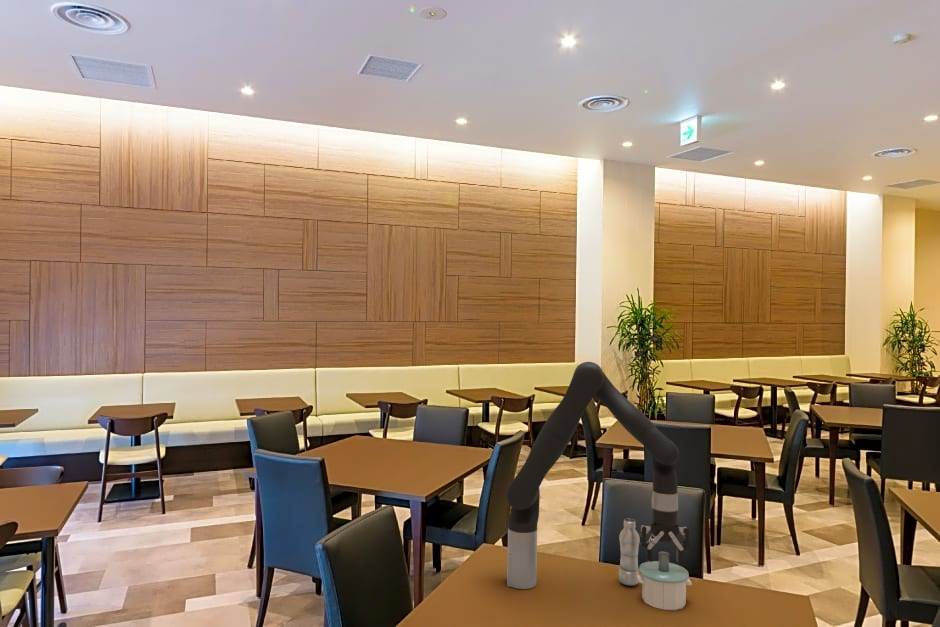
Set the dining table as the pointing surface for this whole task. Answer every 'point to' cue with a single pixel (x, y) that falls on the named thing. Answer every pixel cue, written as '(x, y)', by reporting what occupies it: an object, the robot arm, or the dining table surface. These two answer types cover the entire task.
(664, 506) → the robot arm
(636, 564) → the plastic bottle
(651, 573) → the lid
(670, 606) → the pot
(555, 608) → the dining table surface
